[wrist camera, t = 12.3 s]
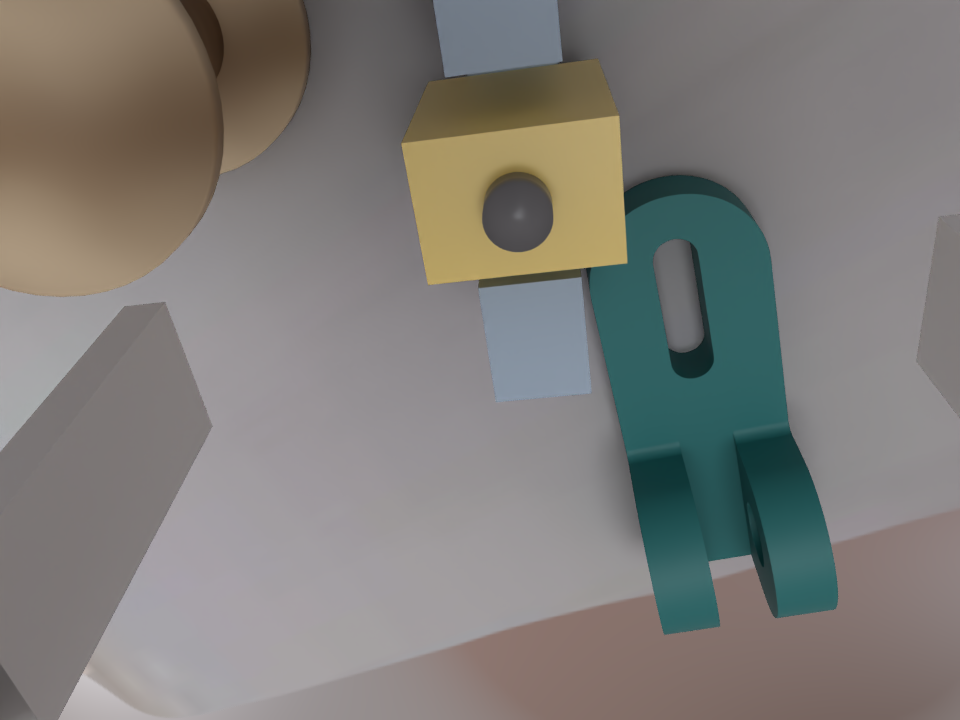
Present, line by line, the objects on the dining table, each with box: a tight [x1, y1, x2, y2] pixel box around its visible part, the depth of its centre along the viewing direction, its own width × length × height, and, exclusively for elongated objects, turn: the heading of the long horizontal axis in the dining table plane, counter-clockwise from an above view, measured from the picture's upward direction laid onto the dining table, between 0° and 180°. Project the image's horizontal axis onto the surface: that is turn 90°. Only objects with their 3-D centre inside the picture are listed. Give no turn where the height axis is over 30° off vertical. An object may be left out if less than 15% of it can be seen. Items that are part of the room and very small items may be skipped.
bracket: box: [586, 175, 838, 635], centre depth 33 cm, size 18×7×8 cm, turn 15°
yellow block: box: [401, 59, 627, 285], centre depth 24 cm, size 4×6×8 cm
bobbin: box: [0, 0, 311, 297], centre depth 25 cm, size 10×10×11 cm
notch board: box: [433, 0, 591, 402], centre depth 26 cm, size 14×3×9 cm, turn 8°
